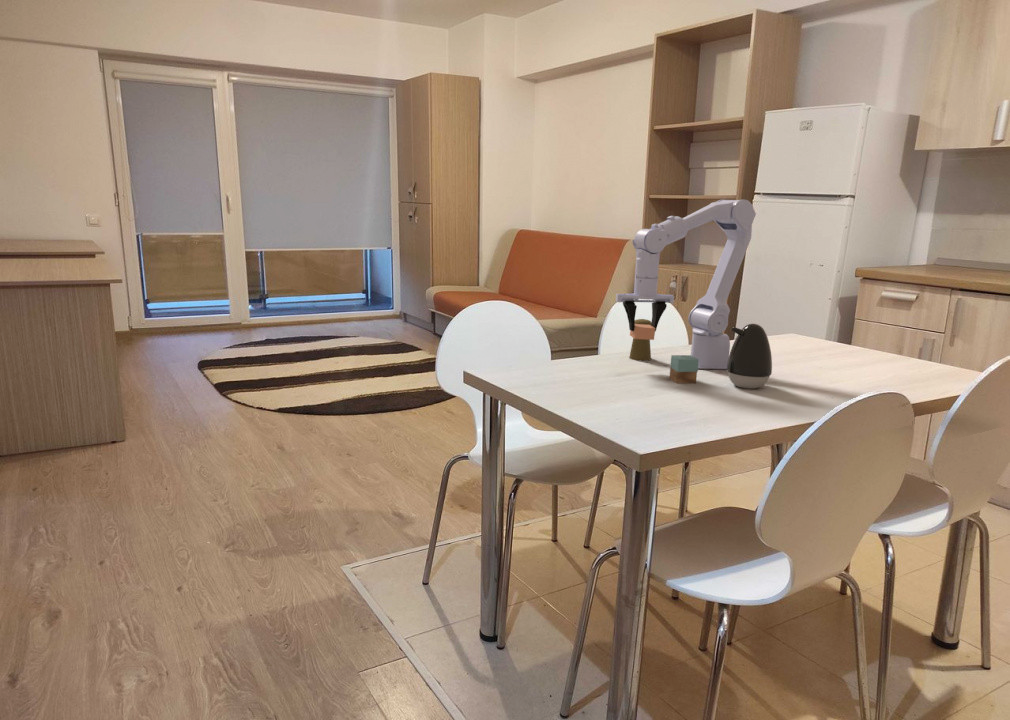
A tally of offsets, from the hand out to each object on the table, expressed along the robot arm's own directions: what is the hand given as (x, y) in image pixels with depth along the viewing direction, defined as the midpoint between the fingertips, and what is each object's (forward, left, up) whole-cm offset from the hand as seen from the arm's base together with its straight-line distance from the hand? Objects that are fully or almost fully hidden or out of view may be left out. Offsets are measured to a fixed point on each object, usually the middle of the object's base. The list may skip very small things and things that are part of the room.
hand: (642, 330), depth 178 cm
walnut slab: (-8, +11, -11) cm, 17 cm away
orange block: (0, 0, -2) cm, 2 cm away
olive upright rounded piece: (-4, -14, -11) cm, 18 cm away
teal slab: (-8, +11, -8) cm, 15 cm away
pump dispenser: (-22, +16, -11) cm, 29 cm away
